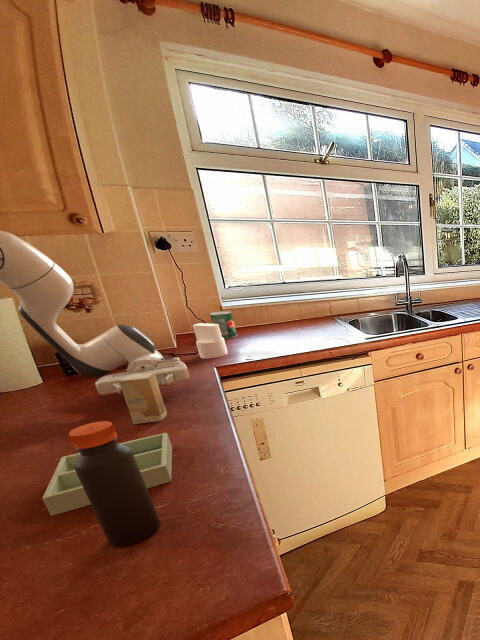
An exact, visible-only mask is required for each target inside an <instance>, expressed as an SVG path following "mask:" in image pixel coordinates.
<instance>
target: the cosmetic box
mask: <svg viewBox="0 0 480 640" xmlns="http://www.w3.org/2000/svg"><path fill="white" fill-rule="evenodd" d="M119 383H120V386H121V388H122V391H123V393H122V395H123V397H124V400H125V403H126V405H127V409H128V411H129V415H130V418H131V420H132V424H134V425H140V424H146V423H147V424H148V423H155V422H162V421H163V420H164V419H165V418H166V417H167V415H168V412H167V409H166V405H165V403H164V399H163V396H162V393H161V389H160V386H159V385H158V383H157V380H156V376H155V373H149V374H137V375H127V376H125V377H123V378H122V379H121V380H119Z"/></svg>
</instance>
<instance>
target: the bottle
mask: <svg viewBox="0 0 480 640" xmlns="http://www.w3.org/2000/svg"><path fill="white" fill-rule="evenodd" d="M68 437H69V439H70V441H71V443H72V445H73V447H74V449H75V450H76V451H77V452H79V453H81V454H80V455H79V457H78V458H77V459H76V461H75V462H74V465H73V466H74V469H75V471H76V473H77V475H78V477H79V480H80V482H81V484H82V486H83V488H84V490H85V493H86V495H87V497H88V499H89V501H90V503H91V507H92V509H93V512H94V514H95V516H96V518H97V521H98V523H99V525H100V528H101V530H102V531H103V534H104V535H105V538H106V540H107V542H108V544H109V545H110V546H113V547H126V546H127V547H129V546H131V545H135V544H137V543H139V542H142V541H145V540H146V539H148V538H149V537H151V536H152V535H153V534H155V533H156V532H157V531H158V530H159V528H160V526H161V520H160V518H159V516H158V513H157V510H156V508H155V505H154V503H153V500H152V498H151V495H150V493H149V490H148V488H146V485H145V483H144V480H143V477H142V475H141V472H140V470H139V467H138V465H137V462H136V460H135V457H134V455H133V452H132V450H131V449H130V448H129V447H128V446H125V445H122V444H120V443H119V442H118V438H119V437H118V434H117V432H116V429H115V427H114V423H113V422H112V421H108V420H103V421H102V420H101V421H95V422H90V423H87V424H83V425H80V426H78V427H76V428H73V429H71V430H70V431H69V433H68Z"/></svg>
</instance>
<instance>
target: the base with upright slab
mask: <svg viewBox="0 0 480 640" xmlns="http://www.w3.org/2000/svg"><path fill="white" fill-rule="evenodd" d="M192 328H193V331H194V332H193V333H194V335H195V338H196V341H195V345H196V348H197V351H198V356H199V357H200V359H206V360H207V359H216V358H220V357H225V356H227V355H228V353H229V352H228V348H227V344H226V341H225V339H224V338H223V337H222V335H221V332H220V328H219V325H218V324H213V323H201V322H198V323H194V324H192Z"/></svg>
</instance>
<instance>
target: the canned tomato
mask: <svg viewBox="0 0 480 640" xmlns="http://www.w3.org/2000/svg"><path fill="white" fill-rule="evenodd" d="M209 315H210V318H211V324H218V325H219V328H220V332H221V335H222V337H223V338H224V340H228V339H229V340H230V339H233V338H236V337H238V333H237V329H236V325H235V321H234V317H233V314H232V311H231V310H220V311H215V312H214V311H213V312H210V313H209Z"/></svg>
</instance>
